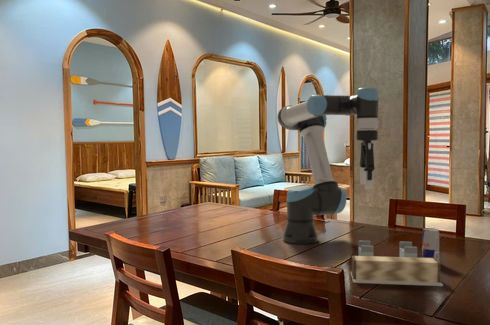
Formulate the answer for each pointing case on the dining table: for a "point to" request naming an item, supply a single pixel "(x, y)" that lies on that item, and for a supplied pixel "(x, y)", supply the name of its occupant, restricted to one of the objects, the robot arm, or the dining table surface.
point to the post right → (407, 250)
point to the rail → (396, 268)
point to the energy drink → (430, 243)
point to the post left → (365, 249)
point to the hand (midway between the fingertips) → (366, 186)
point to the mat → (397, 282)
